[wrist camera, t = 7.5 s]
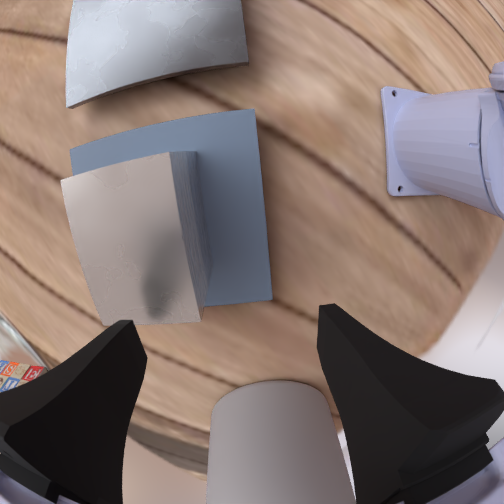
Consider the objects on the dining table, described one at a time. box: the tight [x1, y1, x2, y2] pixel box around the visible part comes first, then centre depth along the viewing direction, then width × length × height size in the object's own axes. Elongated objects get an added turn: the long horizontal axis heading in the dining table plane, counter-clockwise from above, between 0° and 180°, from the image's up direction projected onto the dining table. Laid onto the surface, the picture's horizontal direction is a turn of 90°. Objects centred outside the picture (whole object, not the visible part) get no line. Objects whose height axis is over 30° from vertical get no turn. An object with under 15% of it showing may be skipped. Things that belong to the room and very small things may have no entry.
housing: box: [61, 151, 213, 325], centre depth 13 cm, size 5×7×6 cm
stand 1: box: [66, 0, 249, 109], centre depth 11 cm, size 12×12×2 cm
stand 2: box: [70, 109, 273, 307], centre depth 17 cm, size 12×12×2 cm
